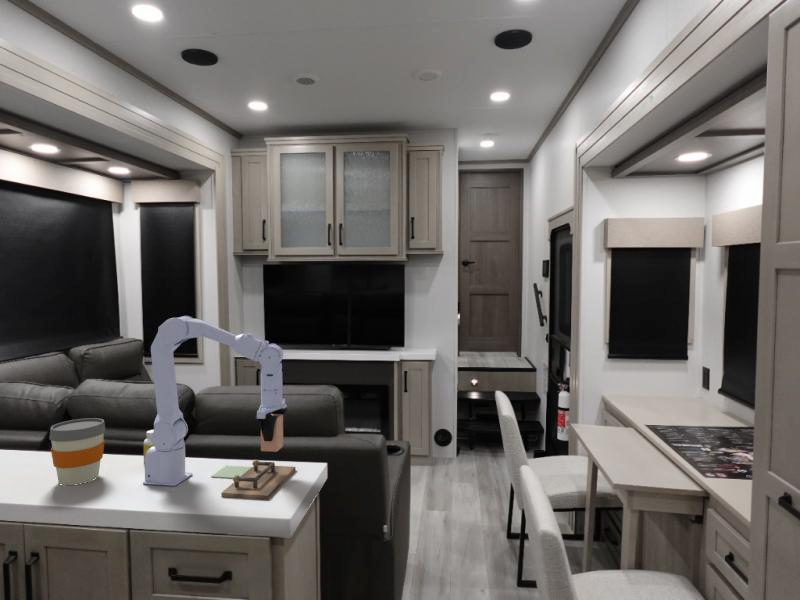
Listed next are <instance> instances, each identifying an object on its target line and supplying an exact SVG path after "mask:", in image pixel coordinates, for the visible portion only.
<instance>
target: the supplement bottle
mask: <svg viewBox="0 0 800 600" xmlns="http://www.w3.org/2000/svg"><path fill="white" fill-rule="evenodd" d="M153 432H154V429H150V430H147V431H146V432H145V433H146V438H145V439H144V441H143V467H145V456H146V453H147V451H148V450H149V449H150V448H151V447H153V444H152V440H151V438H152V434H153Z"/></svg>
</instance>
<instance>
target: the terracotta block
mask: <svg viewBox="0 0 800 600" xmlns="http://www.w3.org/2000/svg"><path fill="white" fill-rule="evenodd" d="M271 415H272V416H278V418H277V420H276V423H275V426H274V434H273V440H272V441H264V438H263V435H262V431H261V430H260V452H278V451H280V449H282V448H283V447H284V419H283V414H271Z"/></svg>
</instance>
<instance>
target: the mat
mask: <svg viewBox="0 0 800 600" xmlns="http://www.w3.org/2000/svg"><path fill="white" fill-rule="evenodd" d="M252 467H253V466H241V465H240V466H239V465H225V466H223V467H222V468H221V469H219V470H218V471H217V472H215V473H214V474H212V475H211V476H210V477H211V478H214V479H215V478H216V479H217V478H218V479H231V480H233V477H234V476H235V475H239V476H240V477H241V476H242V475H244V474H245V473H246V472H247V471H248V470H250V469H251V468H252Z"/></svg>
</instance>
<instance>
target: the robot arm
mask: <svg viewBox="0 0 800 600" xmlns="http://www.w3.org/2000/svg"><path fill="white" fill-rule="evenodd" d="M203 337H204V338H207V339H209V340H212V341H215V342H218V343H221V344H224V345H226V346H229V347H231V349H232V350H233V352H234V353H235V354H236V355H240V356H242V357H245V358H247V359H249V360H251V361H255V362H259V364H260V367H261V368H260V369H261V371H260V406H259V407H258V410H256V415H255V420H256V422H257V423H258V427H259V428H260V432H261V431H262V435H263V438H264V441H272V440H273V434H274V426H275V423H276V420H277V418H278V416H272V415H271V414H283V420H284V419H285V417H286V415H287V412H288V408H287V407H288V405H287V404H286V398H283V371H282V369H283V364H282V361H283V358H284V350H283V348H282V347H281V346H280V345H277V344H276V343H270V341H268V340H265V341H264V340H262V339H258V338H257V337H254V335H253V334H252V333H250V332H248V333H240V334H238V335H236V334H234V333H232V332H229V331H227V330H225V329H223V328H221V327H219V326H216V325H213V324H211V323H209V322H207V321H205V320H203V319H198V318H193V317H192V316H189V315H183V316H180V317H171V318H168V319H166V320H165V321H164V322H163V323H162V324H160V325H159V326H158V330H157V333H156V335H155V338H154V340H153V341H152V343H151V346H150V353H151V364H152V365H151V366H152V374H153V375H152V376H153V384H154V392H155V393H154V394H155V403H156V404H155V405H156V411H157V412H156V413H157V414H156V417H155V419H154V422H153V430H154V432H153V434H152V438H151V440H152V444H153V447H151V448H150V449H149V450H148V451H147V453H146V456H145V466H144V480H143V481H142V484H143V485H157V486H158V485H159V486H173V487H174V486H177V485H179V484H181V482H183V481H185V480H187V479H188V478H189V477H191V476H192V475H193V472H188V471H187V472H186V442H185V440H184V438H185V437H186V436H187V434H188V431H189V428H188V427H189V426H188V424H187V422H186V421H185V419H184V413H183V412H182V411H181V410H180V405H179V397H178V396H179V395H178V386H177V377H176V367H175V357H174V351H175V350H177V348H178V347H179V346H180V345H181V344H182V343H184V342H186V341H188V340H189V339H195V338H203Z"/></svg>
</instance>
